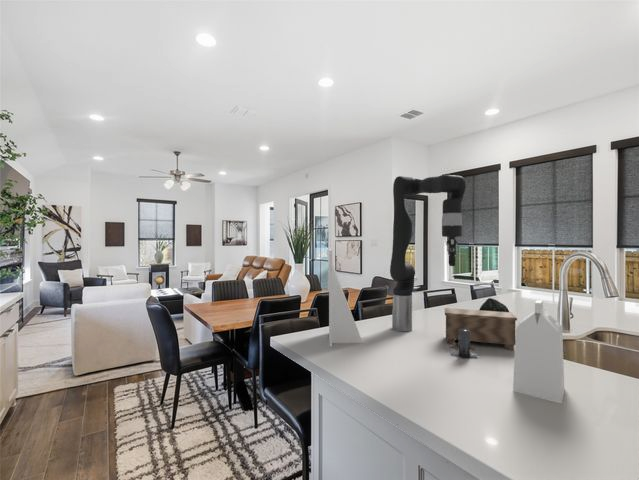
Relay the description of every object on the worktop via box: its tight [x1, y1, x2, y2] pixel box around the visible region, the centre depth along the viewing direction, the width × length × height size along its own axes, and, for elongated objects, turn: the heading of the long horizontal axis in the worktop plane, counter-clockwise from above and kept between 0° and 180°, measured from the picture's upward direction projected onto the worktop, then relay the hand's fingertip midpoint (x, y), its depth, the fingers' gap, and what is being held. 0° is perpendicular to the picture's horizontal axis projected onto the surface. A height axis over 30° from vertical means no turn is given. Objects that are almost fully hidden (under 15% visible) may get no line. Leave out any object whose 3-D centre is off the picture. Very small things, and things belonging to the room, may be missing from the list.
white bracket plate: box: [328, 248, 364, 347], centre depth 147 cm, size 20×14×40 cm
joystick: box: [450, 329, 478, 359], centre depth 128 cm, size 9×12×10 cm
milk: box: [512, 299, 565, 404], centre depth 97 cm, size 12×12×26 cm
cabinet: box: [444, 307, 518, 351], centre depth 142 cm, size 27×11×13 cm, turn 70°
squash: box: [479, 297, 510, 312], centre depth 172 cm, size 14×15×15 cm
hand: (451, 265), depth 132 cm, fingers open, 8 cm apart
